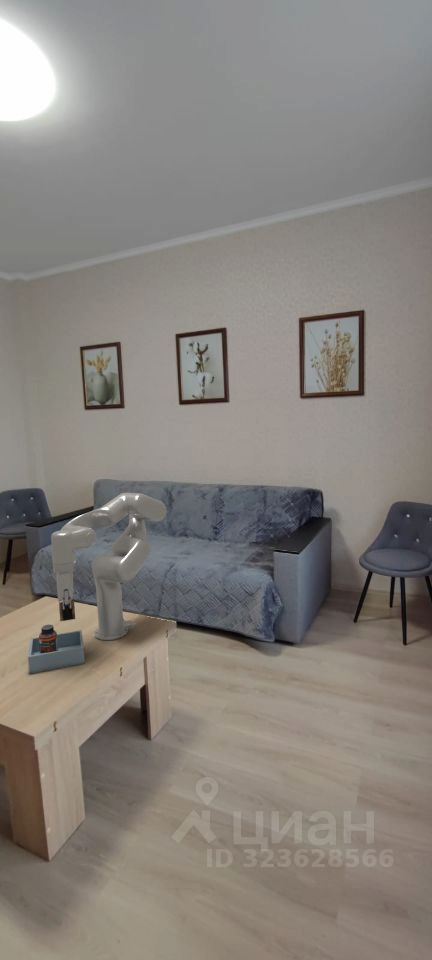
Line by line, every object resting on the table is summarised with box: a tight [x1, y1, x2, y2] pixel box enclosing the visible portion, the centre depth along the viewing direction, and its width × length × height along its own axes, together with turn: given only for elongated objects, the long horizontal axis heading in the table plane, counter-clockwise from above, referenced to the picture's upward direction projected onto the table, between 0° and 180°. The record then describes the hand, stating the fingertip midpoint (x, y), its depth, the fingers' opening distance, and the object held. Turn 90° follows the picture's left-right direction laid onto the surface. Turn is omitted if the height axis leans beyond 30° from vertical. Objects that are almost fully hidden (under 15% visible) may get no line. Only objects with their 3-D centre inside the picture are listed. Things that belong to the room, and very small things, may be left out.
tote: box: [27, 629, 85, 674], centre depth 160 cm, size 18×15×6 cm
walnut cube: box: [58, 599, 76, 622], centre depth 160 cm, size 5×5×5 cm
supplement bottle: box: [38, 624, 58, 654], centre depth 159 cm, size 6×6×11 cm
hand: (67, 616), depth 160 cm, fingers closed on walnut cube, 5 cm apart
